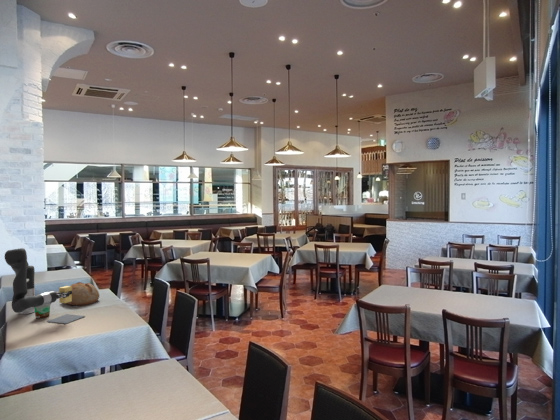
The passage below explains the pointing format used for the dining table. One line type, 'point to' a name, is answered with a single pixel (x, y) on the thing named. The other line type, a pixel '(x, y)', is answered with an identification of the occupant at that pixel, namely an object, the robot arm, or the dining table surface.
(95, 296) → the bread
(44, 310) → the food container
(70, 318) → the mat
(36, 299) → the robot arm
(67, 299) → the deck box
